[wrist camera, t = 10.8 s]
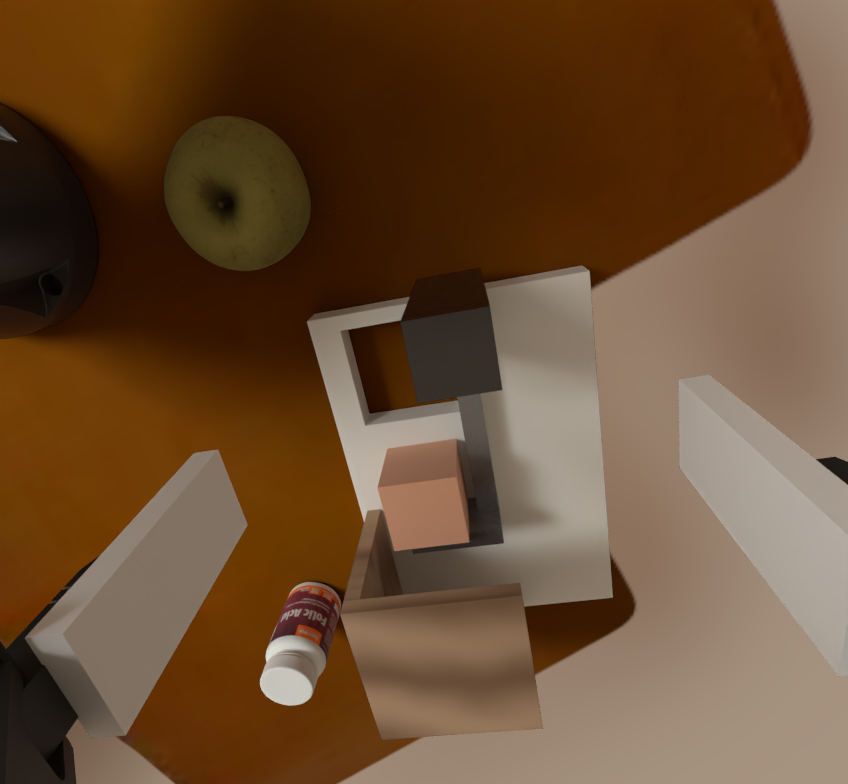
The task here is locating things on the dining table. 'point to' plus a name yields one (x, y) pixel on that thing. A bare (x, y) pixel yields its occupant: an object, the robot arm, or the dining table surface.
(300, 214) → the apple
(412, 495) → the cube
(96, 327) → the dining table surface
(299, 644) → the pill bottle
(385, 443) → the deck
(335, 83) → the dining table surface
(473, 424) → the grey u-shaped bracket
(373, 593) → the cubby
